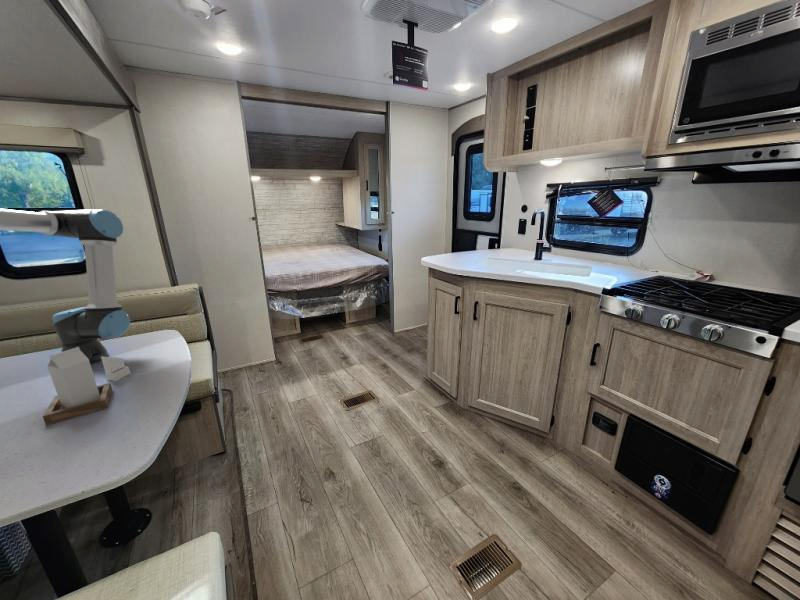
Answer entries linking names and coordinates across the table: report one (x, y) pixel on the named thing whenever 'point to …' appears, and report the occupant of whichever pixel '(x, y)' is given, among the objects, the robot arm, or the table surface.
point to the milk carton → (73, 378)
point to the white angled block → (114, 368)
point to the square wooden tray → (77, 407)
